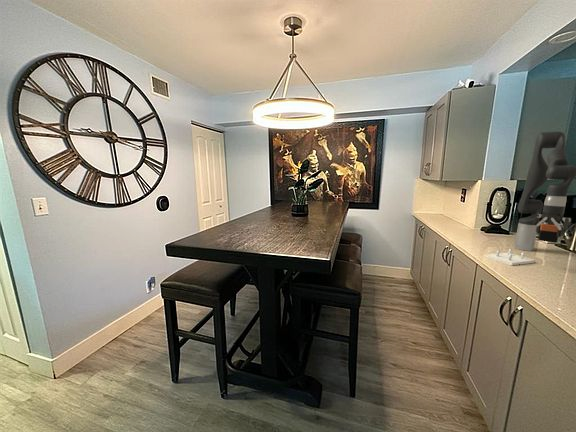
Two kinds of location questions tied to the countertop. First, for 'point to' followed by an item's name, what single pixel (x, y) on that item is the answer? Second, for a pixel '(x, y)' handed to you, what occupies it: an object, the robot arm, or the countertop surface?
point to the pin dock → (510, 258)
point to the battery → (548, 232)
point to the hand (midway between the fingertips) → (548, 234)
